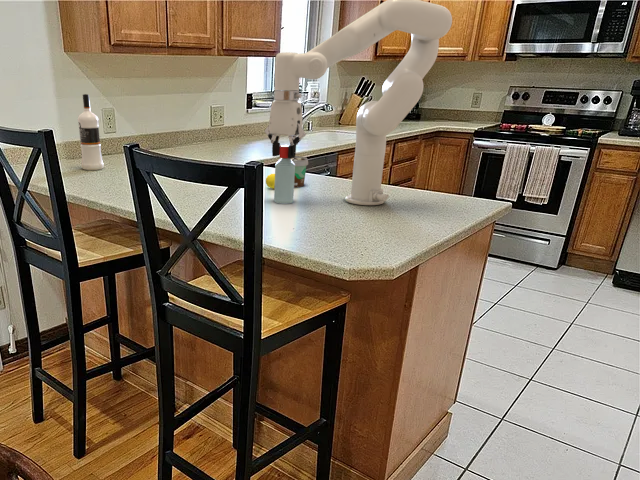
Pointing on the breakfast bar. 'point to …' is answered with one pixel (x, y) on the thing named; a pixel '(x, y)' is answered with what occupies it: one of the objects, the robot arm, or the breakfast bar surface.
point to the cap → (283, 151)
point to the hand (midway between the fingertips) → (283, 156)
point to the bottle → (284, 181)
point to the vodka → (89, 138)
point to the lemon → (270, 181)
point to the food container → (300, 170)
